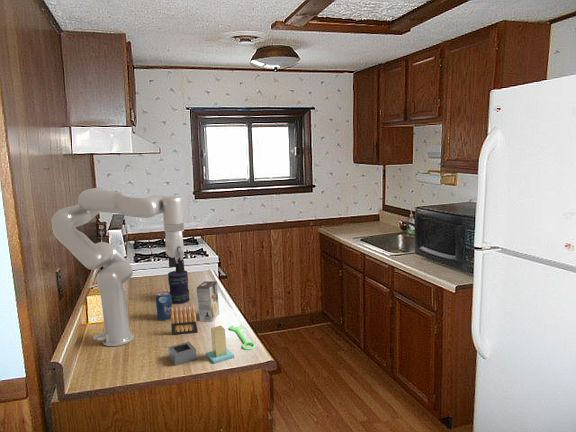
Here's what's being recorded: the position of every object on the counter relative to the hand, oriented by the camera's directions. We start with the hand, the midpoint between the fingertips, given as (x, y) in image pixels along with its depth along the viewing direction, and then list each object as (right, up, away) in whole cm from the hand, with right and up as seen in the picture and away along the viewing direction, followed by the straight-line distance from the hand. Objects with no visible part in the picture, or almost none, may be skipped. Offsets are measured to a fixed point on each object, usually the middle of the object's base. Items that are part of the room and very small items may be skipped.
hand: (176, 269), depth 179 cm
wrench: (+26, -29, +5) cm, 39 cm away
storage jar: (-11, -22, +52) cm, 57 cm away
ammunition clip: (+1, -28, +11) cm, 31 cm away
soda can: (-12, -26, +29) cm, 41 cm away
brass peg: (+19, -30, -11) cm, 37 cm away
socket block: (+5, -32, -11) cm, 34 cm away
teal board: (+19, -31, -11) cm, 38 cm away
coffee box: (+8, -25, +27) cm, 38 cm away
